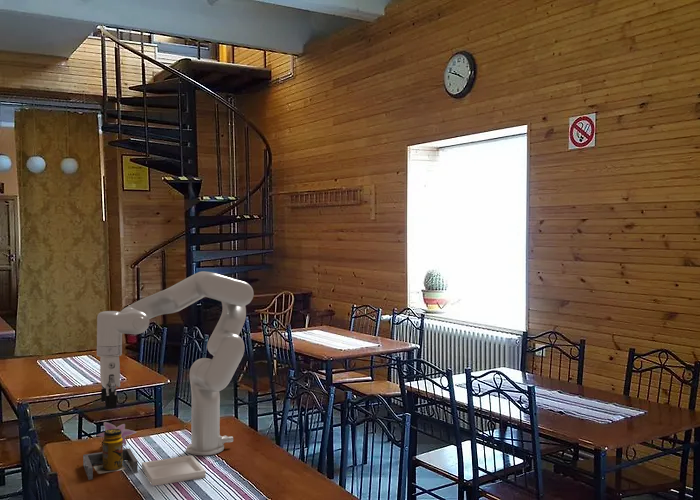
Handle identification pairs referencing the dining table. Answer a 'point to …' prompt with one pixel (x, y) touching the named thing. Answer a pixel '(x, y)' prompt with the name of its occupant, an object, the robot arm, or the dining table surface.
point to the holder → (98, 459)
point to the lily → (122, 427)
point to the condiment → (111, 452)
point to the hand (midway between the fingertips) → (108, 404)
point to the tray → (173, 470)
